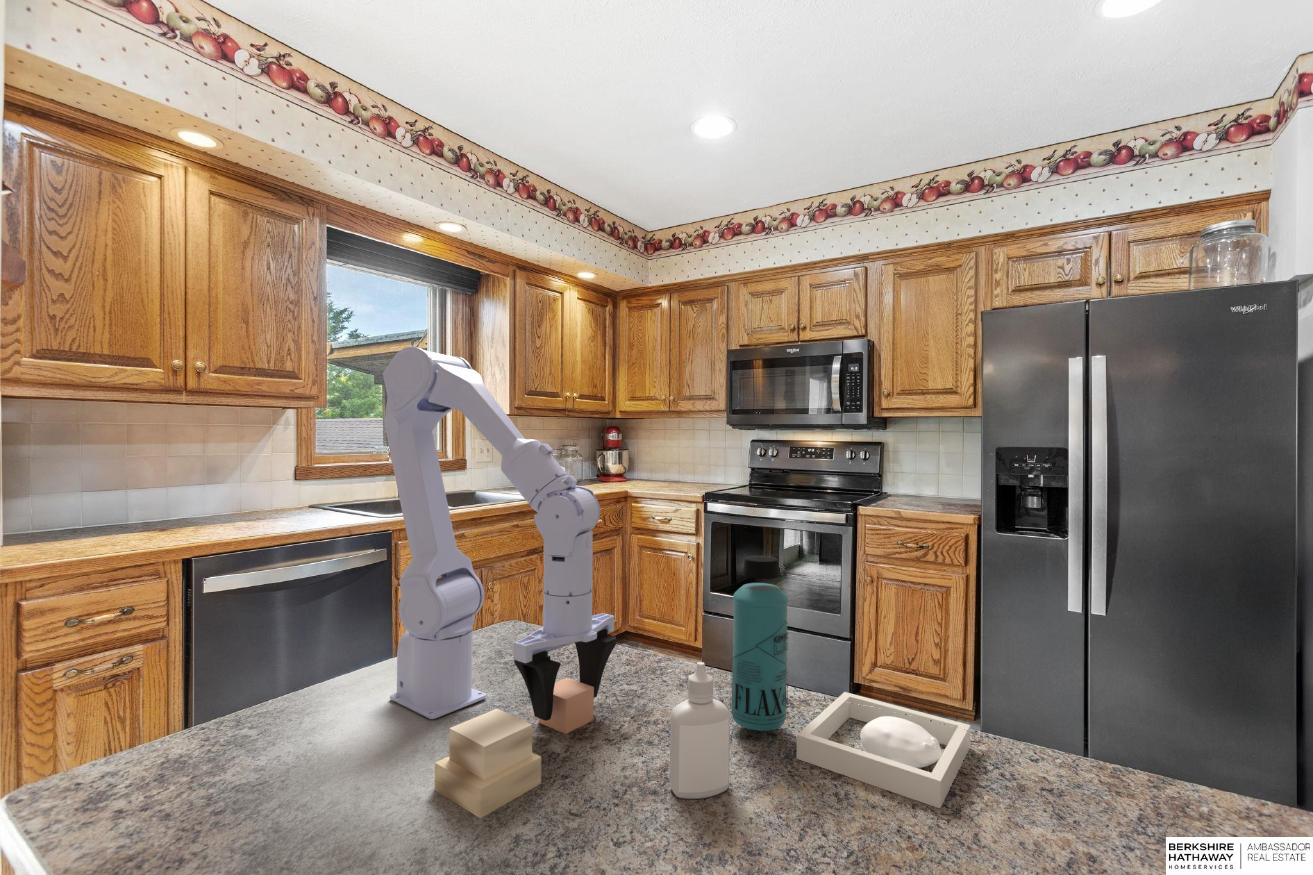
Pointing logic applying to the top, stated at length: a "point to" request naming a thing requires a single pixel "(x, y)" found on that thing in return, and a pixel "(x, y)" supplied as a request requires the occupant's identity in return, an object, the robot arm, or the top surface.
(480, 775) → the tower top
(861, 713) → the garlic dish
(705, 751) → the eye dropper bottle
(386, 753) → the top surface
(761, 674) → the beverage bottle
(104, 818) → the top surface
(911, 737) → the white rounded lump
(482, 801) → the tower base
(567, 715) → the terracotta block
